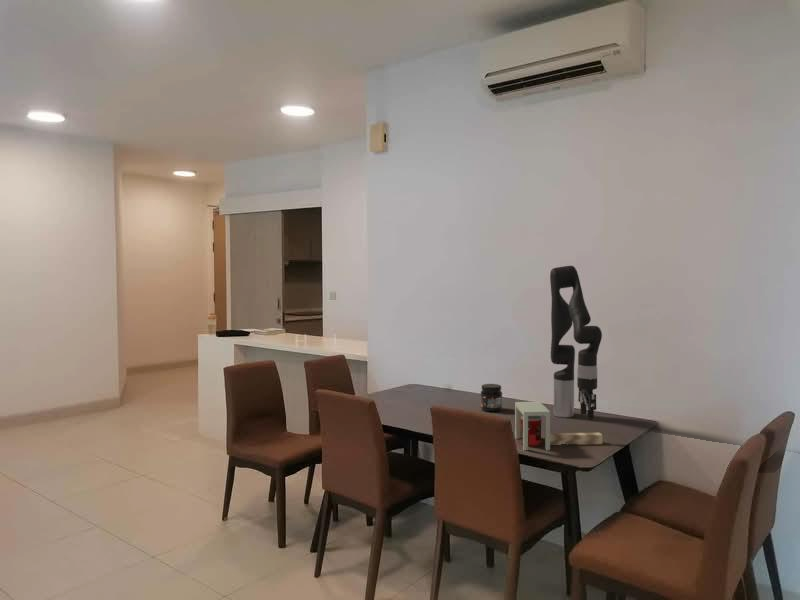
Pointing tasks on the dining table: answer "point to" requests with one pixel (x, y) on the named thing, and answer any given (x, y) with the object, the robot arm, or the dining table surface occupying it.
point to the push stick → (575, 438)
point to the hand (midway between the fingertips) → (586, 416)
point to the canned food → (532, 430)
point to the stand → (527, 410)
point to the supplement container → (491, 397)
